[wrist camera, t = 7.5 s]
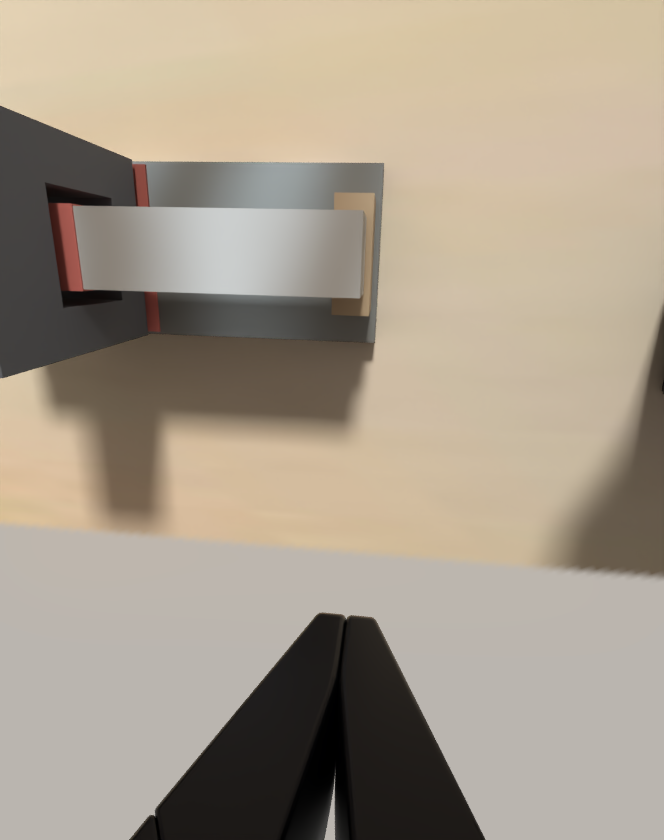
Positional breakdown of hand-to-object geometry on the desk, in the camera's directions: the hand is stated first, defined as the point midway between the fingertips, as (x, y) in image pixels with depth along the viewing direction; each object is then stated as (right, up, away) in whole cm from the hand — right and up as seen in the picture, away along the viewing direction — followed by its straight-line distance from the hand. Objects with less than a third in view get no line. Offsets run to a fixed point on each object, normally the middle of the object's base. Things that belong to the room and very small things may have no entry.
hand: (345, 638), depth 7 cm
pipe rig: (-5, +10, +11) cm, 16 cm away
